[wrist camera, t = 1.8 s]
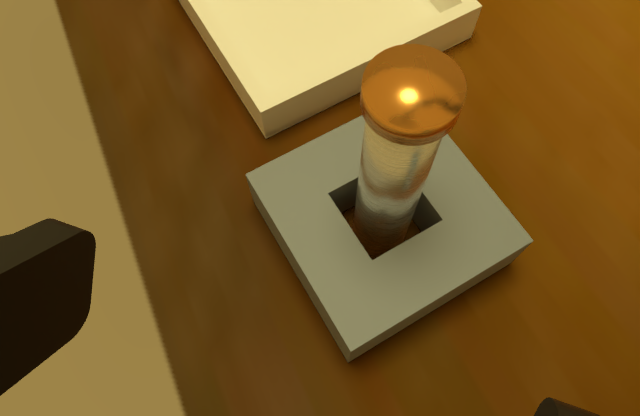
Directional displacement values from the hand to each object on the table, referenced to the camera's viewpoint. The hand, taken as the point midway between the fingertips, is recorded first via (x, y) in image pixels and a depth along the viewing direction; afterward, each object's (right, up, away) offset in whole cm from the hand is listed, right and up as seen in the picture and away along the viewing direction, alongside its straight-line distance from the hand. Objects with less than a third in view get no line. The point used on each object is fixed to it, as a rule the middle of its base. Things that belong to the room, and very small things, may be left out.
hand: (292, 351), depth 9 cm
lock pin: (+4, +1, +25) cm, 25 cm away
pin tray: (0, +18, +32) cm, 37 cm away
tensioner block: (+4, +1, +25) cm, 25 cm away
